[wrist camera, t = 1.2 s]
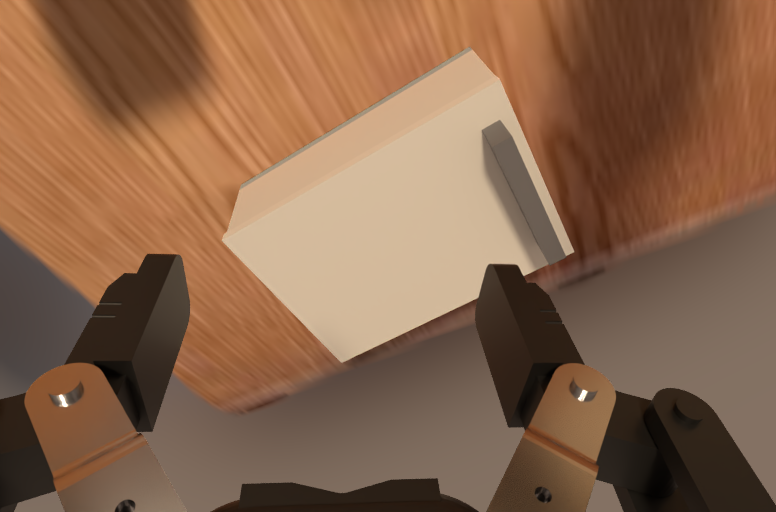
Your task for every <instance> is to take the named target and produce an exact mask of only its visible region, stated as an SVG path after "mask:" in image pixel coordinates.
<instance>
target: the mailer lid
mask: <svg viewBox="0 0 776 512" xmlns="http://www.w3.org/2000/svg"><path fill="white" fill-rule="evenodd" d="M222 241H223V242H224V243H225V244H226V245H227V246H228V248H229V249H230V250H231V251H232V252H233V253H234V254H235V255H236V256H237V257H238V258H239V259H240V260H241V261H242V262H243V263H244V264H245V265H246V266H247V267H248V268H249V269H250V270H251V271H252V272H253V273H254V274H255V275H256V276H257V277H258V278H259V279H260V280H261V281H262V282H263V283H264V284H265V285H266V286H267V287H268V288H269V289H270V290H271V291H272V292H273V293H274V295H275V296H276V297H277V298H278V299H279V300H280V301H281V302H282V303H283V304H284V305H285V306H286V307H287V308H288V309H289V310H290V311H291V312H292V313H293V314H294V315H295V316H296V317H297V318H298V319H299V320H300V321H301V322H302V323H303V324H304V325H305V326H306V327H307V328H308V329H309V330H310V331H311V332H312V333H313V334H314V335H315V336H316V337H317V338H318V339H319V340H320V342H321V343H322V344H323V345H324V346H325V347H326V348H327V349H328V350H329V351H330V352H331V353H332V354H333V355H334V356H335V357H336V358H337V359H338V360H339V361H340V362H341V363H342V362H344V361H347V360H349V359H351V358H353V357H355V356H357V355H359V354H361V353H363V352H365V351H368V350H370V349H372V348H374V347H376V346H378V345H380V344H382V343H384V342H386V341H389V340H391V339H393V338H395V337H397V336H399V335H401V334H403V333H405V332H407V331H410V330H412V329H414V328H416V327H418V326H420V325H422V324H424V323H426V322H428V321H430V320H433V319H435V318H437V317H439V316H441V315H443V314H445V313H447V312H449V311H451V310H454V309H456V308H458V307H460V306H462V305H464V304H466V303H468V302H470V301H472V300H475V299H477V298H478V297H479V293H480V289H481V286H482V282H483V278H484V274H485V271H486V268H487V266H488V265H489V264H516V265H518V266H519V268H520V270H521V272H522V274H523V276H525V275H527V274H529V273H531V272H533V271H535V270H537V269H540V268H542V267H544V266H546V265H548V264H549V265H552V264H554V263H556V262H558V261H560V260H562V259H564V258H566V256H567V255H569V254H571V253H573V252H574V250H573V247H572V245H571V243H570V240H569V238H568V236H567V234H566V231H565V229H564V227H563V224H562V222H561V220H560V217H559V215H558V213H557V210H556V208H555V206H554V203H553V201H552V199H551V197H550V194H549V192H548V190H547V187H546V185H545V183H544V180H543V178H542V176H541V173H540V171H539V169H538V166H537V164H536V162H535V160H534V157H533V155H532V153H531V150H530V148H529V146H528V143H527V141H526V139H525V136H524V134H523V132H522V130H521V127H520V125H519V123H518V120H517V118H516V116H515V113H514V111H513V109H512V106H511V104H510V102H509V99H508V97H507V95H506V93H505V90H504V88H503V86H502V83H501V81H500V79H499V78H498V77H497V76H494V77H493V78H491V79H489V80H488V81H486V82H484V83H482V84H481V85H479V86H477V87H476V88H474V89H472V90H470V91H469V92H467V93H465V94H463V95H462V96H460V97H458V98H457V99H455V100H453V101H451V102H450V103H448V104H446V105H445V106H443V107H441V108H439V109H438V110H436V111H434V112H433V113H431V114H429V115H427V116H426V117H424V118H422V119H421V120H419V121H417V122H415V123H414V124H412V125H410V126H409V127H407V128H405V129H403V130H402V131H400V132H398V133H397V134H395V135H393V136H391V137H390V138H388V139H386V140H384V141H383V142H381V143H379V144H378V145H376V146H374V147H372V148H371V149H369V150H367V151H366V152H364V153H362V154H360V155H359V156H357V157H355V158H354V159H352V160H350V161H348V162H347V163H345V164H343V165H342V166H340V167H338V168H336V169H335V170H333V171H331V172H330V173H328V174H326V175H324V176H323V177H321V178H319V179H318V180H316V181H314V182H312V183H311V184H309V185H307V186H305V187H304V188H302V189H300V190H299V191H297V192H295V193H293V194H292V195H290V196H288V197H287V198H285V199H283V200H281V201H280V202H278V203H276V204H275V205H273V206H271V207H269V208H268V209H266V210H264V211H263V212H261V213H259V214H257V215H256V216H254V217H252V218H251V219H249V220H247V221H245V222H244V223H242V224H240V225H239V226H237V227H235V228H233V229H232V230H230V231H228V232H226V233H225V234H224V235H223V239H222Z"/></svg>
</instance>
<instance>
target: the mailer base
mask: <svg viewBox="0 0 776 512" xmlns="http://www.w3.org/2000/svg"><path fill="white" fill-rule="evenodd" d="M494 76H495V75H494V74H493V73H492V72H491V71H490V69H489V68H488V67H487V66H486V65H485V64H484V63H483V61H482V60H481V59H480V58H479V57H478V56H477V55H476V53H475V52H474V51H473V50H472V49H471V48H470V47H468V48H467V49H465V50H463V51H462V52H460V53H458V54H457V55H455V56H453V57H452V58H450V59H448V60H447V61H445V62H443V63H442V64H440V65H439V66H437V67H435V68H434V69H432V70H430V71H429V72H427V73H425V74H424V75H422V76H420V77H419V78H417V79H415V80H414V81H412V82H410V83H409V84H407V85H405V86H404V87H402V88H400V89H399V90H397V91H396V92H394V93H392V94H391V95H389V96H387V97H386V98H384V99H382V100H381V101H379V102H377V103H376V104H374V105H372V106H371V107H369V108H367V109H366V110H364V111H362V112H361V113H359V114H357V115H356V116H354V117H352V118H351V119H349V120H348V121H346V122H344V123H343V124H341V125H339V126H338V127H336V128H334V129H333V130H331V131H329V132H328V133H326V134H324V135H323V136H321V137H319V138H318V139H316V140H314V141H313V142H311V143H309V144H308V145H306V146H305V147H303V148H301V149H300V150H298V151H296V152H295V153H293V154H291V155H290V156H288V157H286V158H285V159H283V160H281V161H280V162H278V163H276V164H275V165H273V166H271V167H270V168H268V169H266V170H265V171H263V172H261V173H260V174H258V175H257V176H255V177H253V178H252V179H250V180H248V181H247V182H245V183H243V184H242V185H241V187H240V190H239V194H238V197H237V201H236V204H235V207H234V211H233V214H232V217H231V221H230V224H229V227H228V231H230V230H232V229H233V228H235V227H237V226H239V225H240V224H242V223H244V222H245V221H247V220H249V219H251V218H252V217H254V216H256V215H257V214H259V213H261V212H263V211H264V210H266V209H268V208H269V207H271V206H273V205H275V204H276V203H278V202H280V201H281V200H283V199H285V198H287V197H288V196H290V195H292V194H293V193H295V192H297V191H299V190H300V189H302V188H304V187H305V186H307V185H309V184H311V183H312V182H314V181H316V180H318V179H319V178H321V177H323V176H324V175H326V174H328V173H330V172H331V171H333V170H335V169H336V168H338V167H340V166H342V165H343V164H345V163H347V162H348V161H350V160H352V159H354V158H355V157H357V156H359V155H360V154H362V153H364V152H366V151H367V150H369V149H371V148H372V147H374V146H376V145H378V144H379V143H381V142H383V141H384V140H386V139H388V138H390V137H391V136H393V135H395V134H397V133H398V132H400V131H402V130H403V129H405V128H407V127H409V126H410V125H412V124H414V123H415V122H417V121H419V120H421V119H422V118H424V117H426V116H427V115H429V114H431V113H433V112H434V111H436V110H438V109H439V108H441V107H443V106H445V105H446V104H448V103H450V102H451V101H453V100H455V99H457V98H458V97H460V96H462V95H463V94H465V93H467V92H469V91H470V90H472V89H474V88H476V87H477V86H479V85H481V84H482V83H484V82H486V81H488V80H489V79H491V78H493V77H494ZM228 231H227V232H228Z"/></svg>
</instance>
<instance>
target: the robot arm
mask: <svg viewBox="0 0 776 512" xmlns="http://www.w3.org/2000/svg"><path fill="white" fill-rule="evenodd" d="M99 303H100V304H99V305H97V307H96V309H95V311H94V313H93V314H92V318H90V320H89V322H88V323H87V325H86V327H85V329H84V330H83V332H82V334H81V336H80V338H79V339H78V341H77V343H76V345H75V347H74V348H73V350H72V352H71V354H70V356H69V357H68V359H67V361H66V363H65V364H64V365H62V366H59V367H57V368H55V369H52V370H50V371H48V372H46V373H45V374H43V375H42V376H40V377H39V378H38V379H37V380H36V381H35V382H34V383H33V384H32V385H31V386H30V387H29V389H28V391H27V392H26V393H24V394H20V395H17V396H13V397H9V398H4V399H0V512H14V510H15V508H16V506H17V503H18V502H22V501H24V500H28V499H31V498H34V497H38V496H40V495H44V494H47V493H51V492H54V491H57V493H58V496H59V498H60V501H61V503H62V506H63V508H64V510H65V512H187V510H186V509H185V507H184V505H183V503H182V502H181V500H180V498H179V497H178V495H177V493H176V491H175V490H174V488H173V486H172V484H171V483H170V481H169V479H168V477H167V476H166V474H165V473H164V471H163V469H162V467H161V465H160V463H159V462H158V460H157V458H156V457H155V455H154V453H153V451H152V450H151V448H150V446H149V445H148V443H147V441H146V439H145V438H144V436H143V435H142V434H141V433H140V434H138V433H137V432H152V431H153V428H154V425H155V422H156V419H157V416H158V413H159V410H160V407H161V404H162V401H163V398H164V395H165V392H166V389H167V386H168V383H169V379H170V377H171V374H172V371H173V368H174V365H175V362H176V359H177V356H178V353H179V350H180V347H181V344H182V341H183V338H184V335H185V332H186V329H187V326H188V322H189V316H190V300H189V294H188V288H187V283H186V277H185V272H184V266H183V261H182V258H181V256H180V255H176V254H147V255H146V257H145V258H144V260H143V262H142V264H141V266H140V268H139V270H138V272H137V274H135V273H124V274H123V275H122V276H121V277H119V278H118V279H117V280H116V281H114V282H113V283H112V284H111V285H109V286H108V288H107V289H106V291H105V293H104V295H103V296H102V298H101V300H100V302H99ZM475 321H476V327H477V331H478V333H479V337H480V340H481V343H482V346H483V349H484V353H485V356H486V359H487V362H488V365H489V368H490V371H491V375H492V377H493V381H494V384H495V387H496V390H497V393H498V397H499V400H500V403H501V406H502V409H503V412H504V415H505V419H506V422H507V425H508V427H524V429H525V433H524V435H523V437H522V439H521V441H520V443H519V445H518V447H517V449H516V451H515V453H514V455H513V457H512V460H511V462H510V464H509V466H508V468H507V470H506V472H505V474H504V476H503V478H502V480H501V483H500V484H499V486H498V489H497V491H496V493H495V495H494V497H493V499H492V501H491V503H490V505H489V507H488V509H487V511H486V512H586V508H587V505H588V502H589V499H590V496H591V492H592V489H593V485H594V483H595V480H600V481H603V482H607V483H610V484H613V486H614V489H615V491H616V494H617V496H618V499H619V501H620V504H621V506H622V509H623V511H624V512H776V505H775V503H774V502H773V500H772V499H771V497H770V496H769V494H768V493H767V491H766V489H765V488H764V486H763V485H762V483H761V482H760V480H759V479H758V477H757V476H756V474H755V473H754V471H753V470H752V468H751V466H750V465H749V463H748V462H747V460H746V459H745V457H744V456H743V454H742V453H741V451H740V450H739V448H738V447H737V445H736V443H735V442H734V440H733V439H732V437H731V436H730V434H729V433H728V431H727V430H726V428H725V427H724V425H723V423H722V422H721V420H720V419H719V417H718V416H717V414H716V413H715V412H714V410H713V409H712V408H711V407H710V406H709V405H708V404H707V403H706V402H704V401H703V400H702V399H700V398H698V397H697V396H695V395H693V394H691V393H689V392H687V391H683V390H680V389H675V388H666V389H662V390H660V391H658V392H657V393H656V395H655V396H654V398H653V399H652V401H651V400H647V399H644V398H640V397H636V396H632V395H628V394H624V393H621V392H618V391H615V390H614V388H613V386H612V384H611V383H610V381H609V380H608V379H607V378H606V377H605V376H604V375H603V374H601V373H600V372H598V371H597V370H595V369H593V368H591V367H589V366H586V365H585V364H584V363H583V361H582V359H581V357H580V355H579V353H578V351H577V349H576V347H575V345H574V343H573V341H572V340H571V337H570V335H569V334H568V332H567V330H566V328H565V326H564V324H562V320H561V318H560V316H559V314H558V313H556V308H555V307H554V305H553V303H552V301H551V299H550V297H549V295H548V294H547V293H545V292H544V291H543V290H542V289H541V288H540V287H539V286H538V285H537V284H536V283H526V281H525V278H524V276H523V274H522V272H521V270H520V268H519V266H518V265H516V264H489V265H488V266H487V268H486V271H485V274H484V278H483V282H482V286H481V289H480V293H479V297H478V301H477V305H476V311H475ZM211 512H478V511H477V510H476V509H474V508H473V507H471V506H469V505H468V504H466V503H464V502H462V501H460V500H458V499H455V498H453V497H450V496H447V495H444V494H440V491H439V484H438V479H437V478H436V479H401V480H389V481H385V482H382V483H378V484H375V485H372V486H368V487H365V488H361V489H358V490H354V491H351V492H348V493H335V492H331V491H327V490H322V489H318V488H314V487H309V486H305V485H300V484H296V483H261V484H242V488H241V495H240V500H237V501H234V502H231V503H228V504H226V505H224V506H221V507H219V508H217V509H215V510H213V511H211Z"/></svg>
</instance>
